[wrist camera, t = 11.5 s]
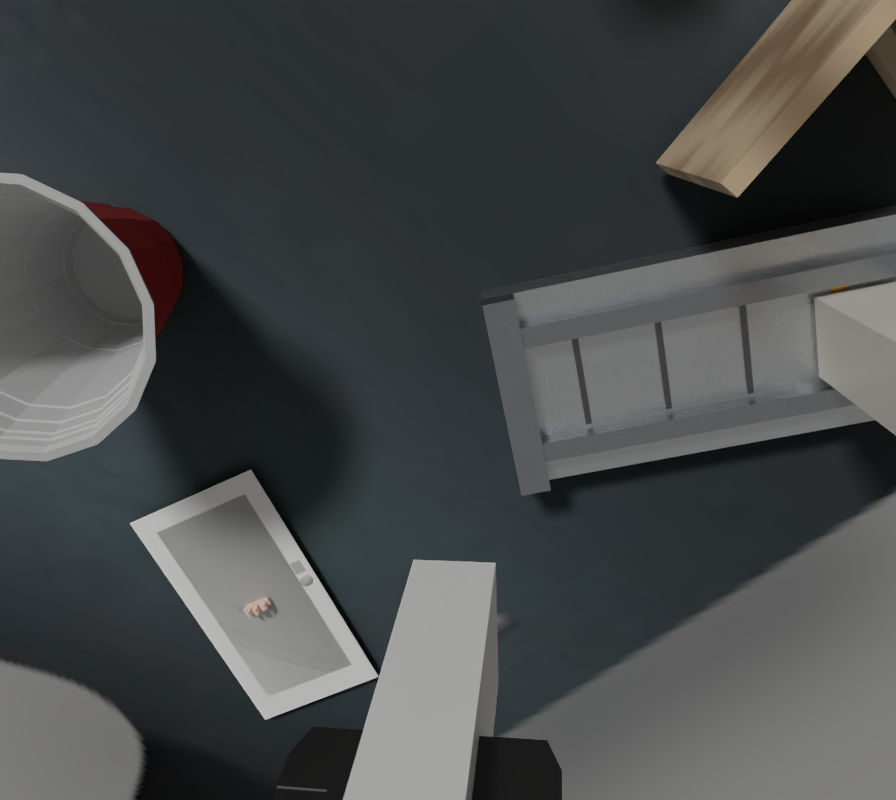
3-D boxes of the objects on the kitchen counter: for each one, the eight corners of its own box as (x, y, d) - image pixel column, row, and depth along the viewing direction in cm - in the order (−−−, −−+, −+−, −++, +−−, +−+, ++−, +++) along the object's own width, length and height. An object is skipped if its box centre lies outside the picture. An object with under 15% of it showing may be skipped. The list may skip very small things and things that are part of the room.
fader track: (517, 468, 43) (521, 495, 40) (481, 290, 40) (482, 305, 37) (978, 383, 41) (1019, 405, 38) (981, 186, 37) (1025, 193, 34)
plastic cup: (281, 305, 40) (209, 383, 29) (112, 402, 42) (-17, 510, 31) (152, 106, 37) (16, 107, 26) (-24, 221, 39) (-221, 268, 28)
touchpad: (269, 707, 50) (260, 732, 48) (137, 513, 45) (121, 533, 43) (380, 664, 48) (376, 689, 46) (255, 461, 44) (245, 478, 42)
